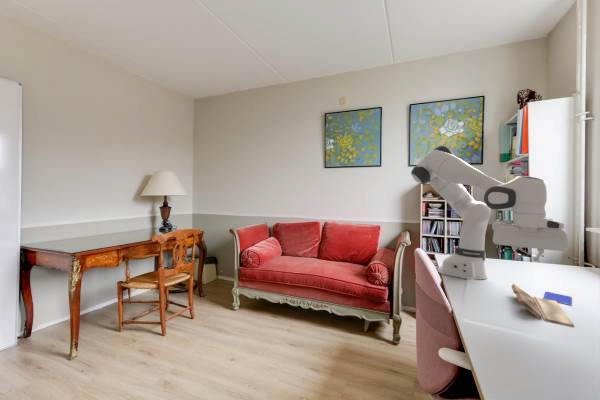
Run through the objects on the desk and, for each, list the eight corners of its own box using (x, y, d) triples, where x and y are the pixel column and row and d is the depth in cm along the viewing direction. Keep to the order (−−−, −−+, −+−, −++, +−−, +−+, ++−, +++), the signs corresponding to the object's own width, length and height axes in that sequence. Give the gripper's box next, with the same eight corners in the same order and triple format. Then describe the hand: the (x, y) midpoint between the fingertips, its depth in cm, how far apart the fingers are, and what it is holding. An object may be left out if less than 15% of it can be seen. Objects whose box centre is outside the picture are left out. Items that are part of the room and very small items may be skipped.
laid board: (544, 322, 88) (544, 318, 88) (532, 299, 107) (532, 296, 107) (573, 328, 84) (574, 324, 84) (556, 304, 103) (556, 300, 103)
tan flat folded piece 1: (518, 302, 92) (522, 299, 91) (515, 293, 100) (518, 291, 99) (538, 319, 89) (542, 317, 89) (533, 309, 97) (537, 307, 96)
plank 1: (513, 292, 102) (516, 290, 102) (511, 286, 110) (513, 283, 110) (532, 307, 99) (535, 304, 98) (528, 298, 107) (531, 296, 106)
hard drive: (572, 305, 100) (572, 296, 109) (542, 298, 106) (545, 291, 114) (571, 309, 100) (572, 300, 109) (542, 302, 106) (544, 294, 114)
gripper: (492, 219, 97) (491, 257, 98) (570, 224, 86) (568, 266, 86) (492, 218, 102) (490, 254, 103) (565, 223, 91) (563, 262, 91)
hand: (526, 259), depth 94 cm, fingers open, 3 cm apart
